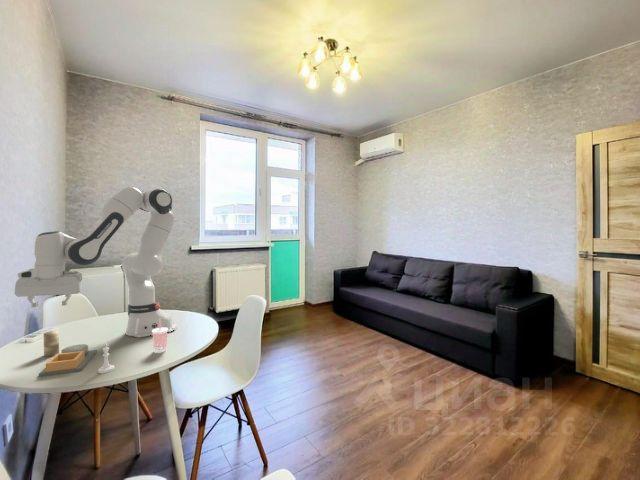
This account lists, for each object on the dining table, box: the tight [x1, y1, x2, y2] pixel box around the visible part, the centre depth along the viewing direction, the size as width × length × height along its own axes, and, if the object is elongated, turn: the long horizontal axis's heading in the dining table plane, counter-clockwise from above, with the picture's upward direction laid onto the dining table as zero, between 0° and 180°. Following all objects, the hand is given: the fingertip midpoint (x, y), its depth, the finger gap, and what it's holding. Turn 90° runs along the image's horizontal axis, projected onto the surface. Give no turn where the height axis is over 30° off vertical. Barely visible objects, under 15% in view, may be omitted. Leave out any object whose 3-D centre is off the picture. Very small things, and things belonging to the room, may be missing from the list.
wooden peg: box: [43, 330, 60, 358], centre depth 118 cm, size 4×4×9 cm
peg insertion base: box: [38, 343, 98, 378], centre depth 111 cm, size 12×17×4 cm
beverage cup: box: [152, 318, 168, 354], centre depth 123 cm, size 6×6×14 cm
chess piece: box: [97, 342, 115, 374], centre depth 106 cm, size 5×5×10 cm
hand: (50, 306), depth 117 cm, fingers open, 8 cm apart
